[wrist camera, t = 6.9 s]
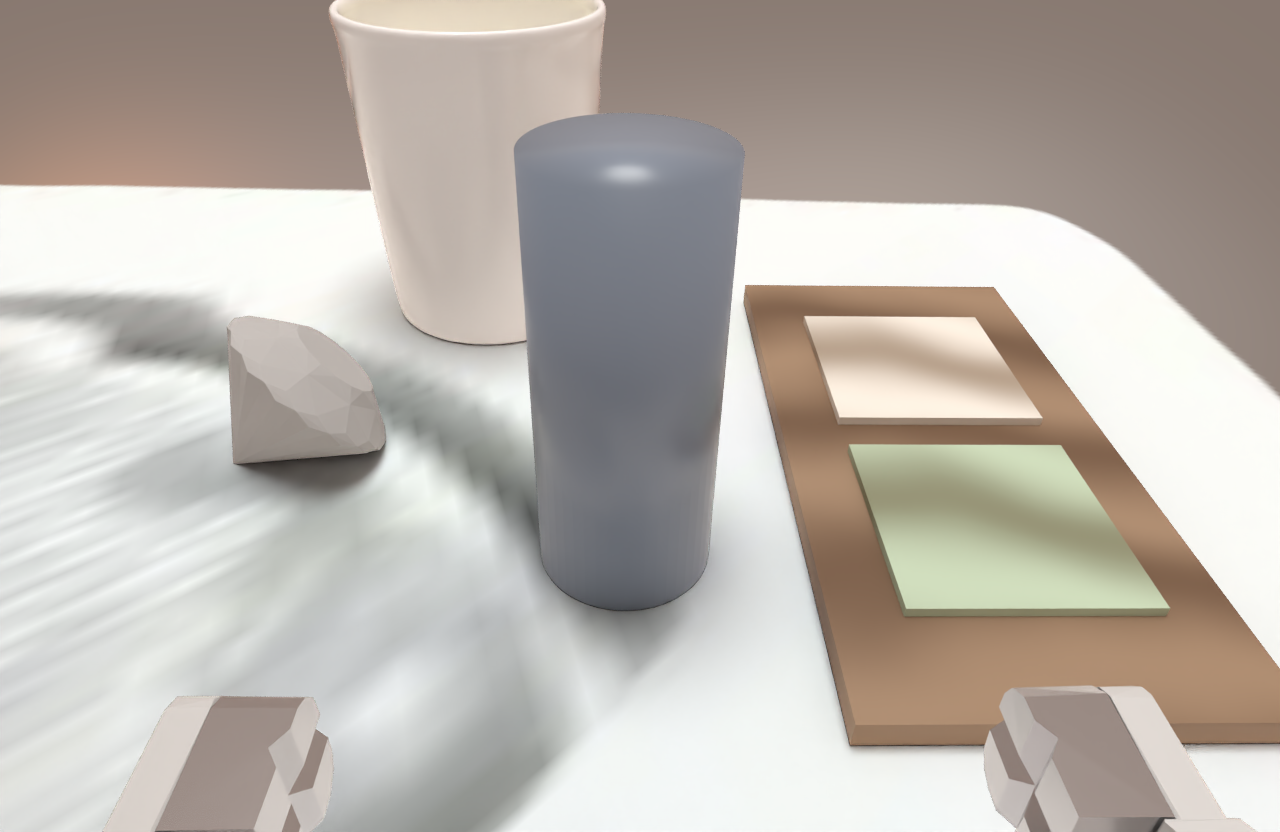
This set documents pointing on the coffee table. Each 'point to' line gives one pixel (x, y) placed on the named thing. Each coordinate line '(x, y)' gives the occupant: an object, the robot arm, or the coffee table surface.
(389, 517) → the coffee table surface
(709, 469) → the post
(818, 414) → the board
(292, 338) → the gemstone
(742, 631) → the coffee table surface
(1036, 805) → the robot arm
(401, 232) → the candle holder
